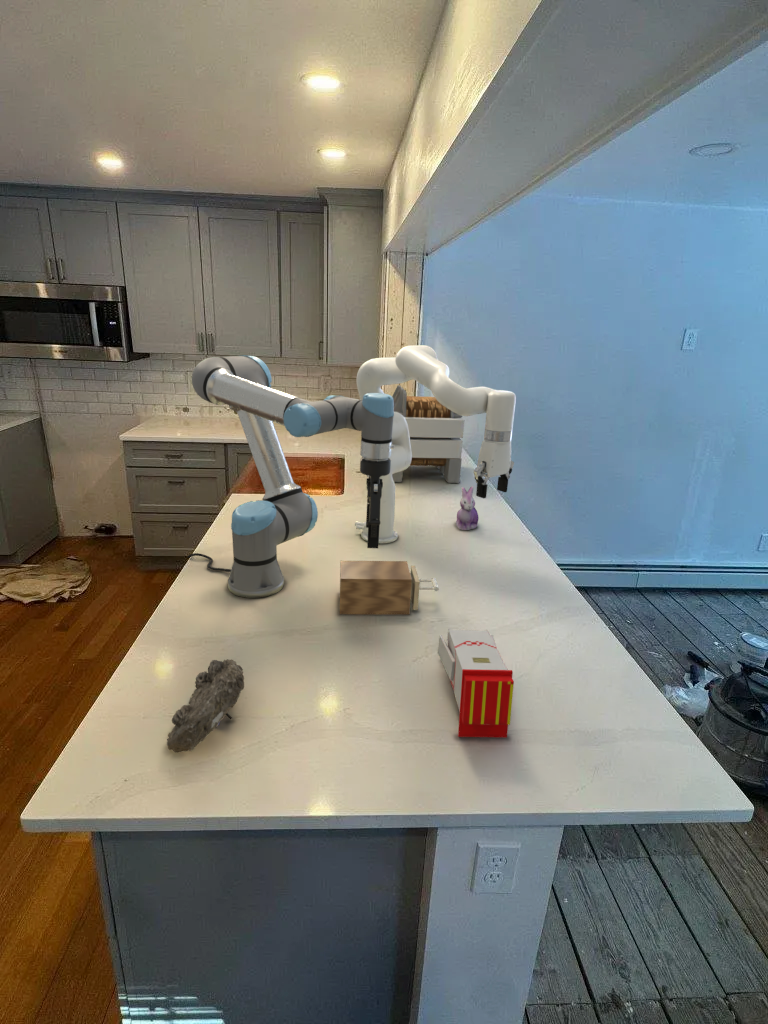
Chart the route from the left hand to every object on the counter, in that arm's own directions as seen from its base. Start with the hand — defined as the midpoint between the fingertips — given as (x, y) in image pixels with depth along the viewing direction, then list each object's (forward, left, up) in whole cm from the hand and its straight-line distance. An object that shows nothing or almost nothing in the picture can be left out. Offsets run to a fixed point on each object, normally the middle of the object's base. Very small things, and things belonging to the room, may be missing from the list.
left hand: (371, 537), depth 147 cm
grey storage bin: (-10, +130, -19) cm, 132 cm away
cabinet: (+2, -1, -19) cm, 19 cm away
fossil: (-17, -53, -19) cm, 59 cm away
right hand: (+28, +27, +7) cm, 40 cm away
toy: (+30, -31, -19) cm, 47 cm away
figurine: (+20, +66, -19) cm, 71 cm away
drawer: (+7, 0, -18) cm, 19 cm away
